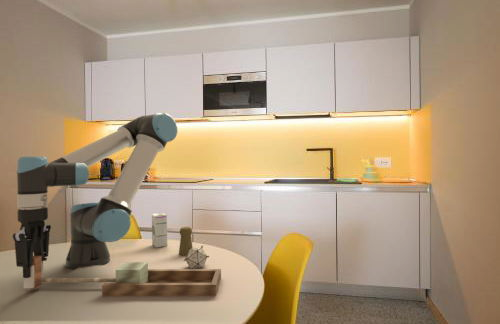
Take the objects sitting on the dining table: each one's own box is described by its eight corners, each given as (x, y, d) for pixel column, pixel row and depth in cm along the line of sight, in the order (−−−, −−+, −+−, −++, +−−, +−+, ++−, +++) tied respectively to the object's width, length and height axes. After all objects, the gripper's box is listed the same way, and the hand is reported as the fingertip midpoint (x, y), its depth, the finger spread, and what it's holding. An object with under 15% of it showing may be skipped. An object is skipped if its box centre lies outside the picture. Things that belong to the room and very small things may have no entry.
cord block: (19, 291, 92) (19, 260, 92) (36, 282, 99) (36, 253, 99) (139, 291, 91) (139, 260, 91) (148, 282, 98) (147, 253, 98)
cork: (179, 251, 135) (179, 226, 135) (194, 251, 136) (193, 225, 136) (177, 255, 129) (177, 228, 129) (192, 255, 130) (192, 228, 130)
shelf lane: (102, 299, 88) (102, 285, 88) (121, 281, 101) (121, 269, 101) (216, 299, 88) (216, 284, 88) (221, 281, 101) (220, 268, 101)
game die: (199, 281, 111) (202, 264, 105) (178, 271, 113) (180, 253, 107) (211, 262, 118) (214, 245, 112) (190, 253, 120) (193, 235, 114)
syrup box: (167, 245, 145) (167, 214, 145) (155, 247, 142) (154, 215, 142) (164, 243, 150) (164, 212, 150) (151, 245, 147) (151, 213, 147)
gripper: (25, 211, 87) (26, 296, 87) (61, 203, 103) (62, 275, 103) (-1, 211, 87) (-1, 296, 87) (38, 204, 103) (39, 275, 103)
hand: (33, 285), depth 95 cm, fingers closed on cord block, 3 cm apart
